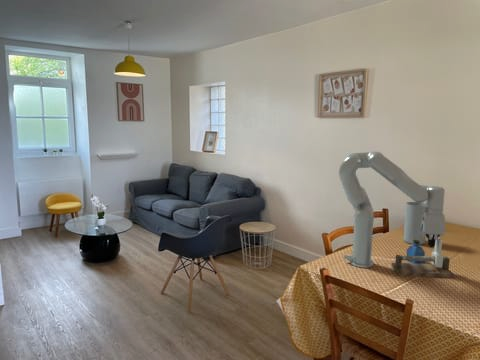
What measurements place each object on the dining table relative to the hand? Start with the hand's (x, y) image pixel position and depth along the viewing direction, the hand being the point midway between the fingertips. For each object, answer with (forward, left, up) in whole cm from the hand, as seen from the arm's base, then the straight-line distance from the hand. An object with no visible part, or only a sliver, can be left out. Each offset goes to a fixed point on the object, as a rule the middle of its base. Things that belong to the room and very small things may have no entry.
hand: (431, 246), depth 180 cm
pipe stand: (-4, 0, -14) cm, 14 cm away
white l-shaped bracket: (+3, 0, -10) cm, 10 cm away
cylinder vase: (+10, +49, -14) cm, 52 cm away
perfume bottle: (-2, +14, -14) cm, 20 cm away
